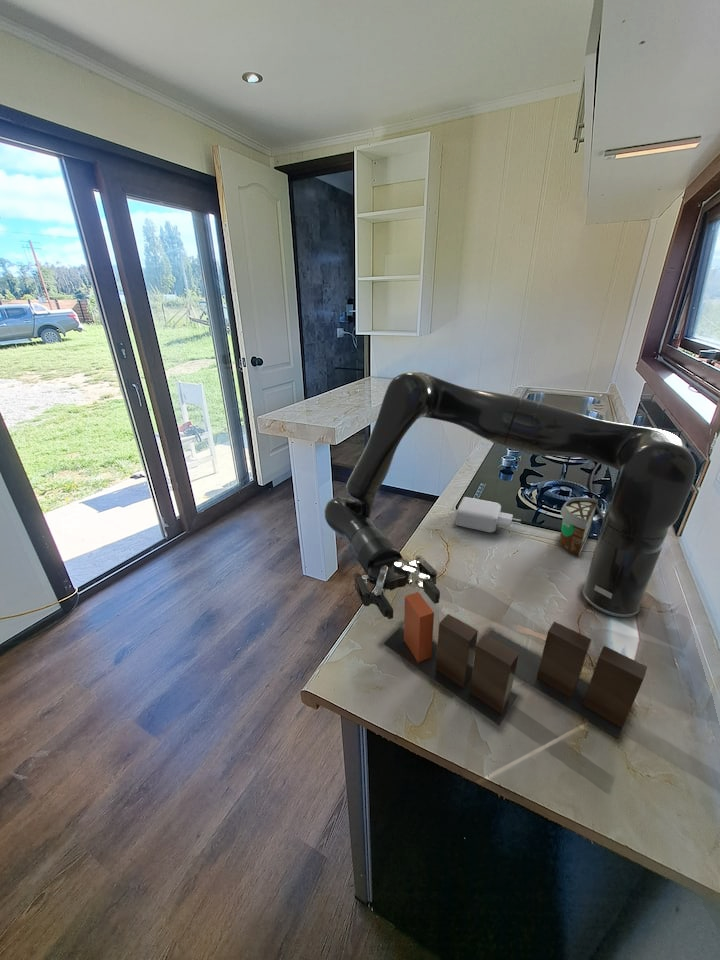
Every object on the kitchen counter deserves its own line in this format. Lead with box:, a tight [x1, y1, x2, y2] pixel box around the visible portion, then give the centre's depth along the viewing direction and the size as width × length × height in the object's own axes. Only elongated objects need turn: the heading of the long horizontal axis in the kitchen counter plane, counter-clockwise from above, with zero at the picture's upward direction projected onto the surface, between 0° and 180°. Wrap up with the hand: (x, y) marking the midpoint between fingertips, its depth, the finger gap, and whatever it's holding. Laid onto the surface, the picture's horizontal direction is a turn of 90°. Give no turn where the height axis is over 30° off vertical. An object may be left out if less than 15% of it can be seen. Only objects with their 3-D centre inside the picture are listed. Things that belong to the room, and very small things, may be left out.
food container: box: [559, 496, 599, 557], centre depth 89 cm, size 12×6×10 cm, turn 141°
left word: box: [383, 613, 519, 727], centre depth 59 cm, size 6×21×10 cm, turn 47°
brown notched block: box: [486, 621, 648, 741], centre depth 57 cm, size 6×21×10 cm, turn 47°
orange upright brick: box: [403, 591, 435, 662], centre depth 63 cm, size 2×5×10 cm, turn 22°
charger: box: [455, 496, 522, 534], centre depth 98 cm, size 5×9×15 cm
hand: (414, 607), depth 62 cm, fingers open, 8 cm apart
